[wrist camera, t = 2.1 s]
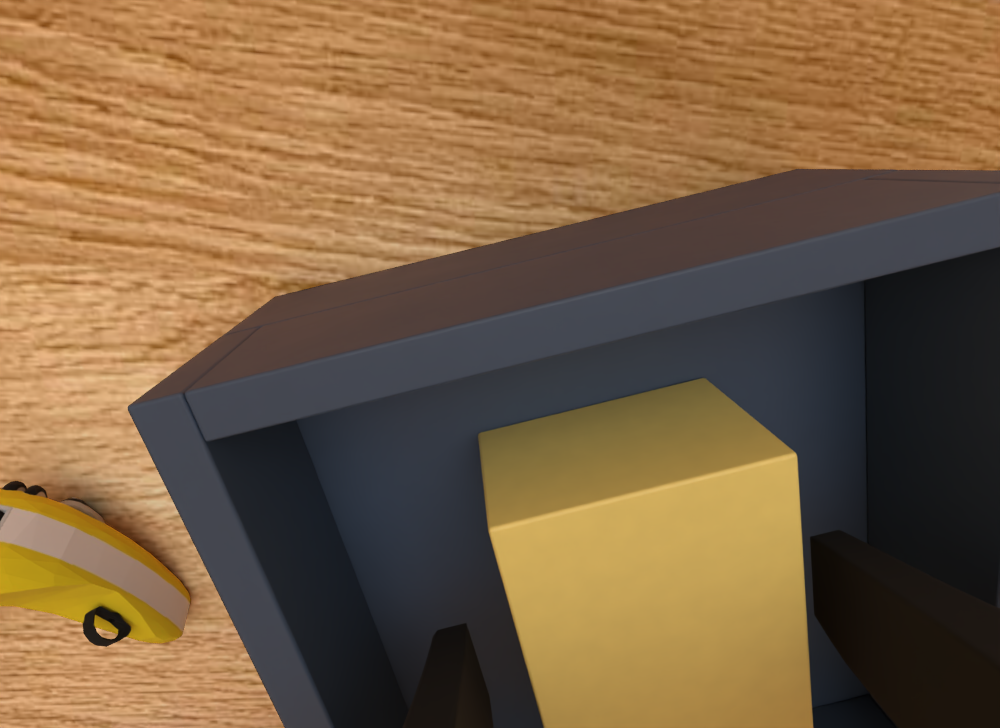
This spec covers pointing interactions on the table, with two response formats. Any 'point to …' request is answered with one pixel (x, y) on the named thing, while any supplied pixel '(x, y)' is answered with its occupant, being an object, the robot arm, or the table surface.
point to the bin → (580, 383)
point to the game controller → (84, 570)
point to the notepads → (653, 562)
